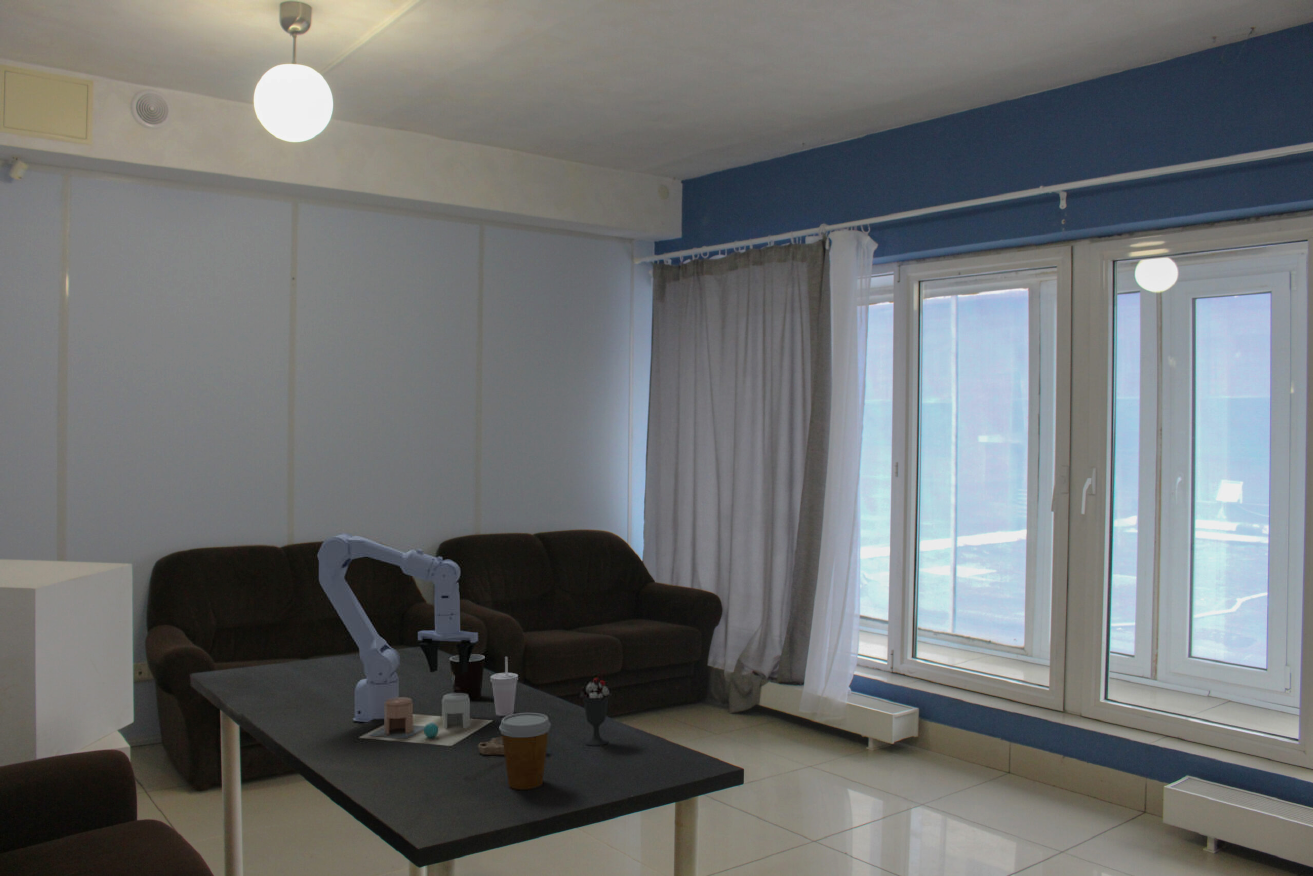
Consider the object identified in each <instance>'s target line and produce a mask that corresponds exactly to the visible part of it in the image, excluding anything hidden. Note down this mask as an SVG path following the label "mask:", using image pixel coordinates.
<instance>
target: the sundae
mask: <svg viewBox="0 0 1313 876" xmlns="http://www.w3.org/2000/svg"><path fill="white" fill-rule="evenodd" d="M604 672H606V670H605V669H602V670H601V672H600V674H599V675H598V676H597V677H595V678H593V680H592V681H589V683H588V684H587V685H586V688H584V686H582V687H581V691H582V692H581V693H580V694H579V698H580V699H582V700H583V704H584V712H585V718H586V721H587V722H588V723H589V724H590V725H591V726H592V727H593V728H592V729H593V734H592V736H591V738H589V739H588V738H587V739H586V740H584V744H585V745H587V746H590V747H600V746H604V745H607V744H608V743H609V740H608V739H606V738H603V737H601V735H600V726H601V725H603V723H604V722H605V721H606V718H607V711H608V704H609V698H610V697H611V696H612V693H610V691H609V688H608V687H607V686H606V681H605V680H604V678H603V677H604V676H603V674H604ZM599 677H601V680H600V679H599Z"/></svg>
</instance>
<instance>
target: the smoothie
mask: <svg viewBox="0 0 1313 876" xmlns="http://www.w3.org/2000/svg"><path fill="white" fill-rule="evenodd" d="M508 660H509V659H508V656H505V657H504V661H505V662H504V665H505V666H504V667H505V668H504V672H499V673H494V674H492V675H491V676H490V682H491V684H492V685H491V687H492V693H493V694H492V695H493V700H494V709H495V715H496V716H499V717H506V716H508V715H512V714H514V710H515V702H516V701H515V700H516V691H517V684H518V683H517V682H518V680H519V675H518V673H513V672H509V671H508V669H509V668H508V667H509V666H508V665H509V664H508V663H509V662H508Z"/></svg>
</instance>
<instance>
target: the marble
mask: <svg viewBox="0 0 1313 876" xmlns="http://www.w3.org/2000/svg"><path fill="white" fill-rule="evenodd" d="M437 733H438V727H437V725H436V724H434V723H429V724H427V725H426V726H425V728H424V734H425V735H426V736H427V737H429V738H433V737H435V736H436V735H437Z"/></svg>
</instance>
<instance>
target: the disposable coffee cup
mask: <svg viewBox="0 0 1313 876" xmlns="http://www.w3.org/2000/svg"><path fill="white" fill-rule="evenodd" d="M551 727H552V725H551V722H550V721H549V717H548V716H547V715H546V714H544V713H537V712H520V713H519V712H518V713H513V714H512V715H508V716H503V718H502V719H501V722H500V725H499V727H498V728H499V731H500V733H501V737H502V738H503V746H504V753H505V755H504V759H505V760H504V761H505V767H506V775H507V782H508V783H507V784H508V786H509V787H510V788H513V789H514V790H515V789H516V790H530V789H531V790H532V789H534V788H535V789H536V788H538V787H541V785H543V784H544V783H543V782H544V781H543V780H544V774H545V773H544V772H545V763H546V755H547V745H548V737H549V736H548V735H549V732H550V728H551Z"/></svg>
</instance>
